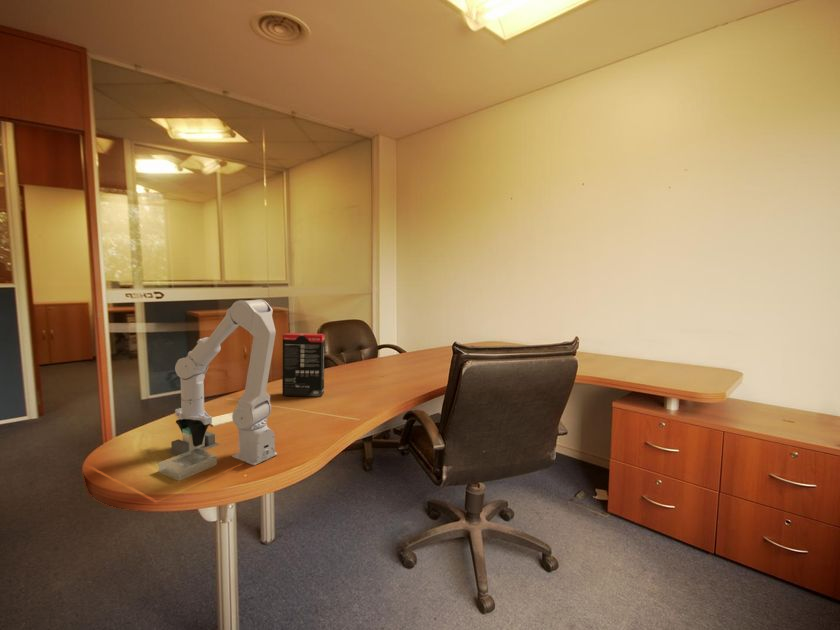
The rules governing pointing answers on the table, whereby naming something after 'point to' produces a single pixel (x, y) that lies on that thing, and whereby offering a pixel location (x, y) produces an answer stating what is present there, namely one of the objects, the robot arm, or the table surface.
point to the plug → (190, 439)
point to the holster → (183, 446)
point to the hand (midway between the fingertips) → (193, 443)
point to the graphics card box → (303, 364)
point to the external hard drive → (221, 419)
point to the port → (187, 464)
